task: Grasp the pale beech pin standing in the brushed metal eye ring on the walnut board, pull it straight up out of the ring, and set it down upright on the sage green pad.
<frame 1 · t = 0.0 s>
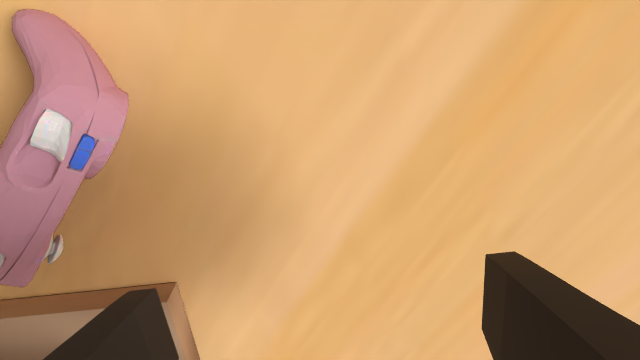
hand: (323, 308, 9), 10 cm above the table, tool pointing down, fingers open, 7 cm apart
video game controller: (65, 136, 18), on the table
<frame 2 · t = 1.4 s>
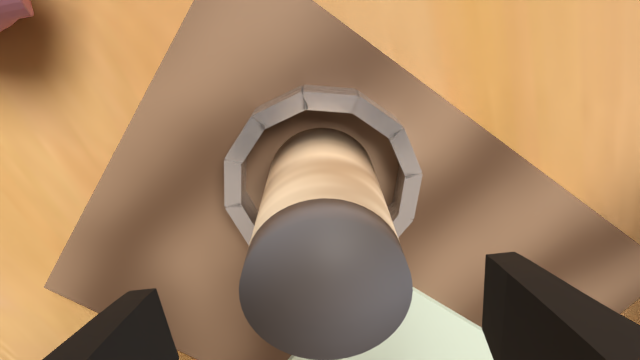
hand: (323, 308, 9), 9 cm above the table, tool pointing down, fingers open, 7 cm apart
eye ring: (321, 184, 15), on the walnut board, point 2 cm above the table
beech pin: (323, 221, 13), in the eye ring, point 5 cm above the table, touching walnut board
walnut board: (355, 259, 19), on the table
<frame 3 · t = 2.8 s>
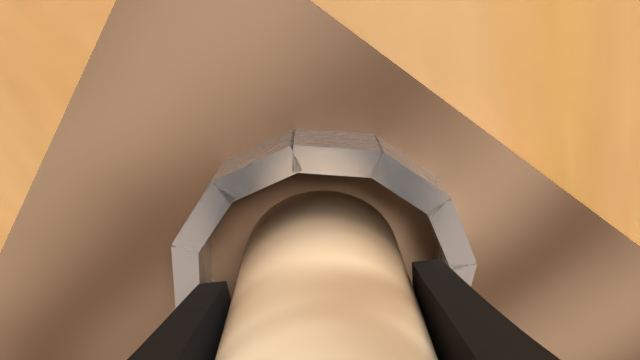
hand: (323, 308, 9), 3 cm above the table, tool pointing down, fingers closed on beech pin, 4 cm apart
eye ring: (322, 273, 10), on the walnut board, point 2 cm above the table
walnut board: (367, 351, 14), on the table
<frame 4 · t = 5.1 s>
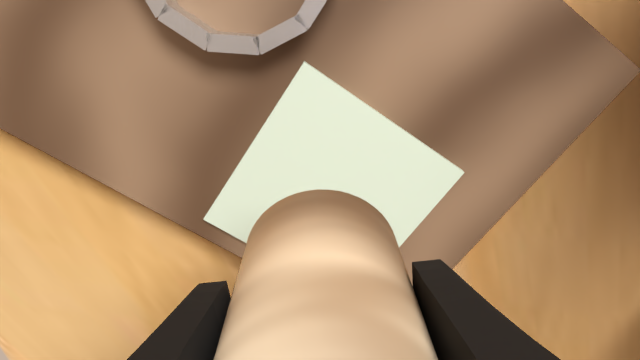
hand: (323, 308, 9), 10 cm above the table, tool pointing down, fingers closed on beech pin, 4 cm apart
sage pad: (330, 193, 18), resting on walnut board
walnut board: (291, 76, 17), on the table
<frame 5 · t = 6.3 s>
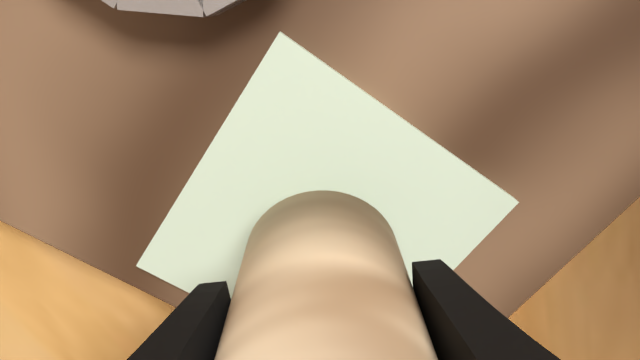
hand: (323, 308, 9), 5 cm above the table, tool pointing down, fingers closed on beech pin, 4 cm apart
sage pad: (321, 229, 12), resting on walnut board
walnut board: (265, 58, 12), on the table
when the fingers open (5 cm above the table, at t = 7.2 s): beech pin stays where it is, resting on sage pad.
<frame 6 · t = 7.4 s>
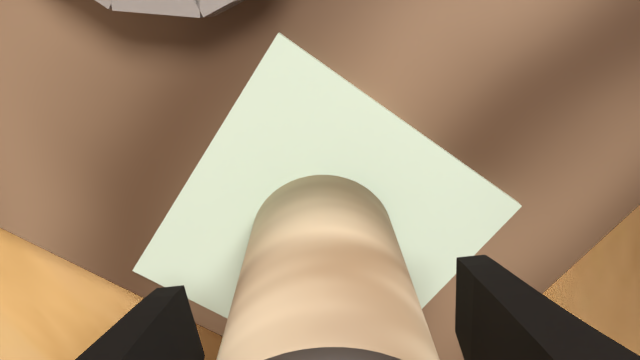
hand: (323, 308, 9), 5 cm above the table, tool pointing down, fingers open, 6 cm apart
beech pin: (325, 327, 9), point 5 cm above the table, touching sage pad
sage pad: (321, 234, 12), resting on walnut board
walnut board: (264, 60, 12), on the table
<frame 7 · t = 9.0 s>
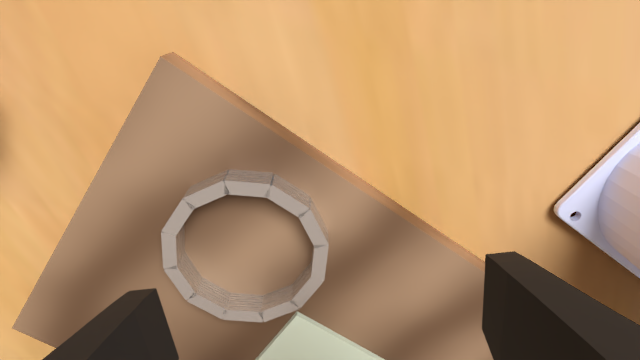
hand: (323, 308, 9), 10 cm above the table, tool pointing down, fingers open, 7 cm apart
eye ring: (247, 249, 18), on the walnut board, point 2 cm above the table
walnut board: (287, 304, 22), on the table
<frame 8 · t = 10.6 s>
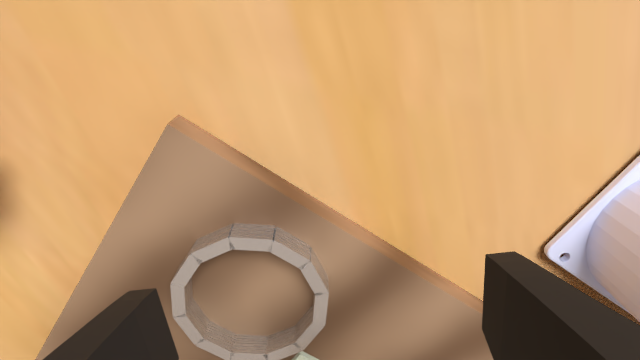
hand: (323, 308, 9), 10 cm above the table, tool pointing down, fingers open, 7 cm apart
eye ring: (251, 296, 19), on the walnut board, point 2 cm above the table
walnut board: (291, 340, 23), on the table
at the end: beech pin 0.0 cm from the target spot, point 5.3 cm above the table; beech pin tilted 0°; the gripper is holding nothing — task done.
